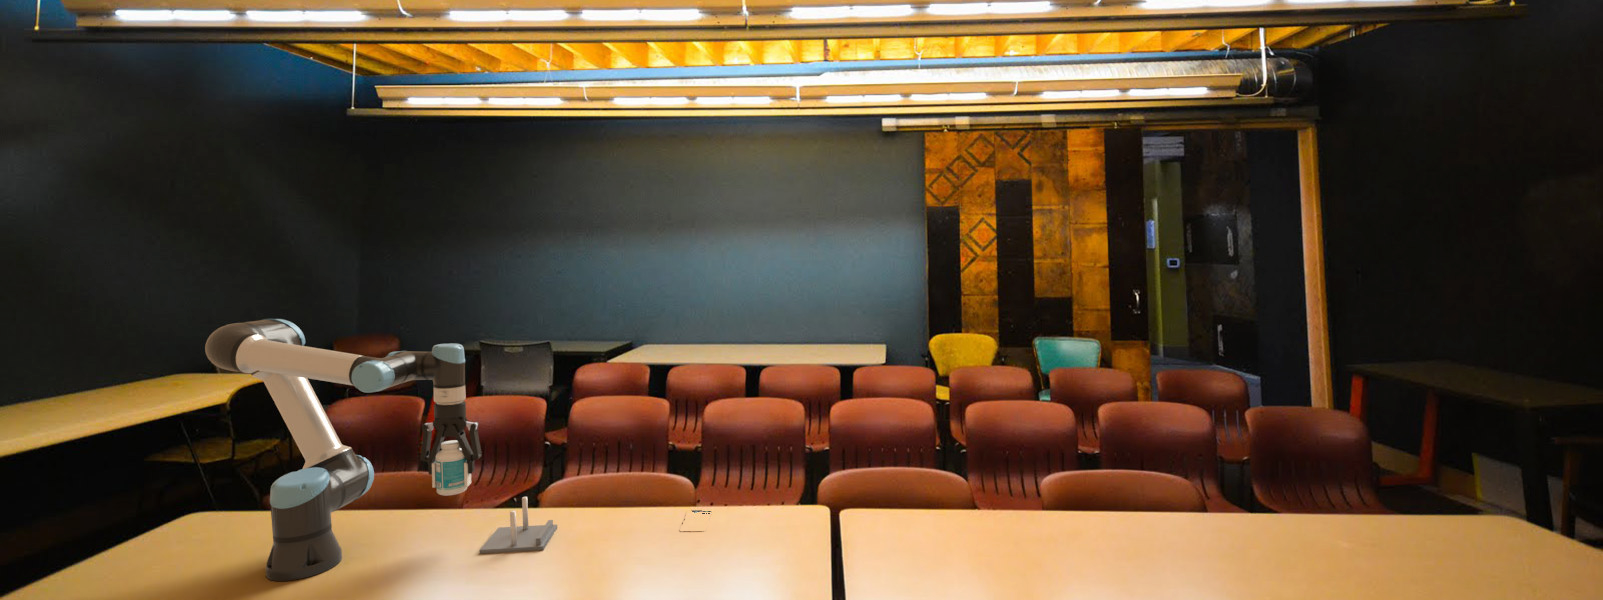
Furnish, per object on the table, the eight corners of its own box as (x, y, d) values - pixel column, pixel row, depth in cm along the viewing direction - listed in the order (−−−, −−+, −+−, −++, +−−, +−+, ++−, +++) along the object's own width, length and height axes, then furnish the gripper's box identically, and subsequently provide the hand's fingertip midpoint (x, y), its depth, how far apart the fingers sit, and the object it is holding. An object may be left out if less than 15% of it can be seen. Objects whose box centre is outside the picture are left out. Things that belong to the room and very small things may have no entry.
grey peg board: (479, 553, 169) (478, 516, 168) (498, 530, 182) (497, 496, 182) (543, 550, 170) (542, 513, 170) (557, 527, 184) (556, 493, 183)
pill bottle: (473, 487, 178) (472, 439, 177) (456, 497, 170) (455, 447, 170) (447, 486, 179) (446, 438, 178) (430, 495, 171) (428, 445, 170)
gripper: (402, 405, 168) (405, 491, 170) (484, 404, 170) (486, 489, 172) (416, 399, 175) (418, 481, 177) (494, 398, 178) (496, 479, 179)
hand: (452, 485), depth 174 cm, fingers closed on pill bottle, 7 cm apart
